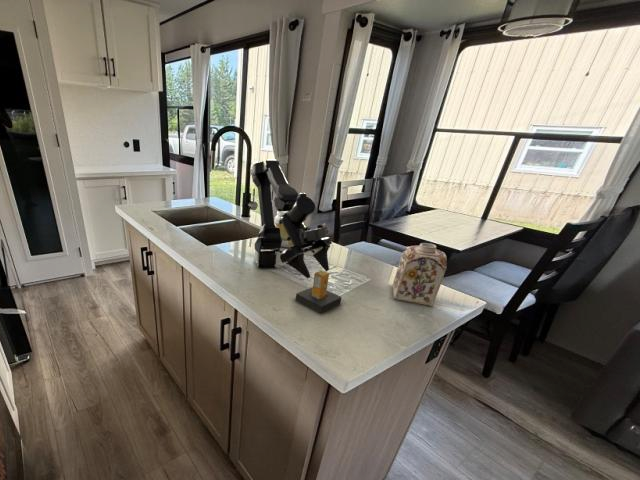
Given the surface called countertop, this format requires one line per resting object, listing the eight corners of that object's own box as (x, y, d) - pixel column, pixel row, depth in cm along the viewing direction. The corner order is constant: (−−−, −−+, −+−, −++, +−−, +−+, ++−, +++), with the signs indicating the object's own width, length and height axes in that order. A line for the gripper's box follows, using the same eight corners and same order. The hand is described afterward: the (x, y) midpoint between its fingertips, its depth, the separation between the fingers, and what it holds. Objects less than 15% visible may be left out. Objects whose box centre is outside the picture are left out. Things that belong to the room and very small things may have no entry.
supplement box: (316, 298, 105) (321, 269, 101) (324, 302, 103) (330, 273, 98) (309, 301, 104) (314, 272, 99) (318, 305, 101) (323, 276, 96)
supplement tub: (300, 253, 141) (306, 214, 133) (272, 252, 141) (276, 212, 133) (296, 244, 152) (301, 207, 144) (270, 242, 152) (274, 206, 144)
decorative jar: (432, 307, 103) (453, 253, 95) (393, 299, 107) (409, 247, 98) (427, 291, 113) (445, 241, 105) (392, 285, 117) (406, 236, 108)
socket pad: (295, 300, 103) (296, 293, 102) (315, 292, 109) (316, 285, 108) (320, 313, 97) (321, 306, 96) (340, 304, 103) (341, 297, 102)
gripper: (291, 220, 90) (317, 270, 88) (332, 211, 100) (355, 256, 99) (269, 239, 99) (292, 285, 97) (308, 229, 109) (329, 271, 108)
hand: (318, 274), depth 100 cm, fingers open, 9 cm apart
